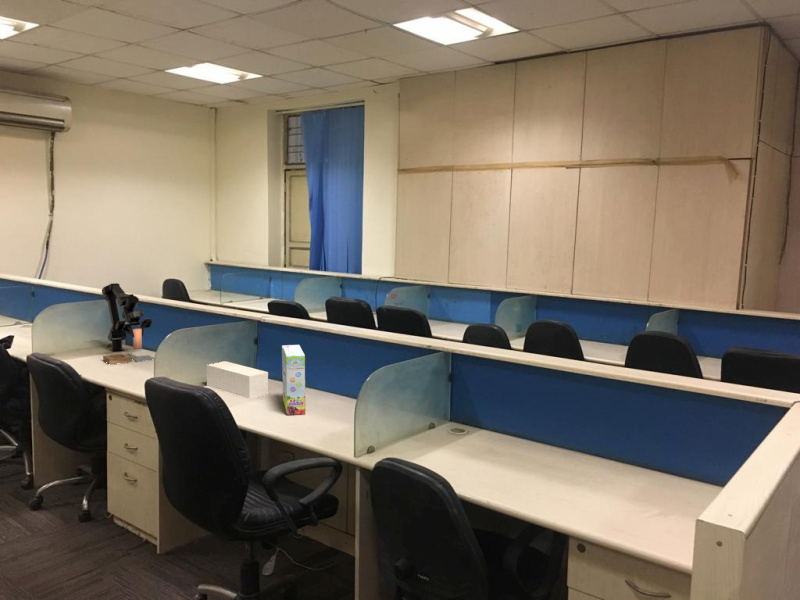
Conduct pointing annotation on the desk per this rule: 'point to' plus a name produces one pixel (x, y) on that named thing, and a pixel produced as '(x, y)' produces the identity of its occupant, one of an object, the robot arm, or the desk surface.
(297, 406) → the snack box
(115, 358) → the walnut pocket block
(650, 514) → the desk surface
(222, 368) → the stack of papers
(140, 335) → the terracotta peg
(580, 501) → the desk surface
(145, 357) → the rubber mat
